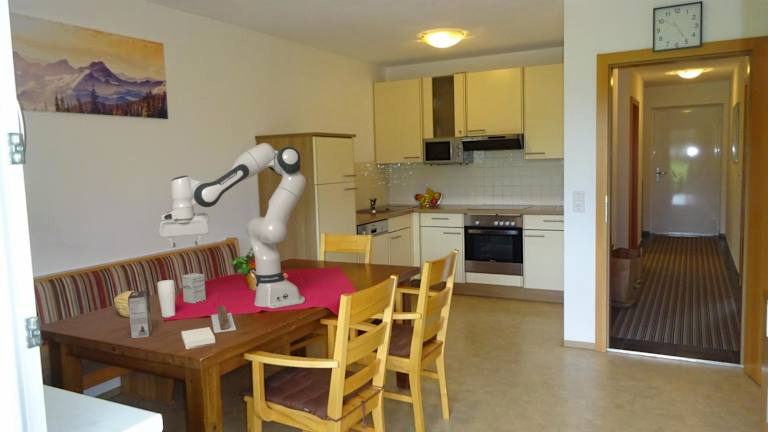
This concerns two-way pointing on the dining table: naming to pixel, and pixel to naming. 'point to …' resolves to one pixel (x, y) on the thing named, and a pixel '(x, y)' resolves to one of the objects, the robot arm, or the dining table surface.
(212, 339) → the tile
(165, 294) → the drinking glass
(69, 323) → the dining table surface
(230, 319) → the mat
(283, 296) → the robot arm
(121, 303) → the sculpture
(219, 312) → the stick
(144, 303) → the coffee box
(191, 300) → the supplement box
